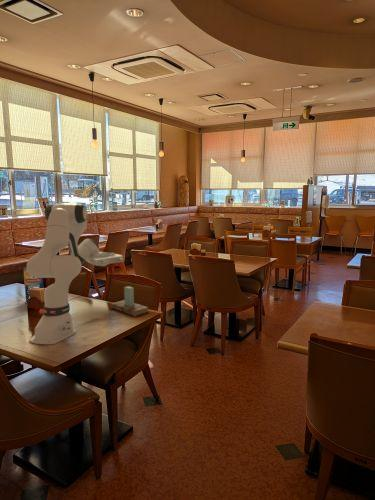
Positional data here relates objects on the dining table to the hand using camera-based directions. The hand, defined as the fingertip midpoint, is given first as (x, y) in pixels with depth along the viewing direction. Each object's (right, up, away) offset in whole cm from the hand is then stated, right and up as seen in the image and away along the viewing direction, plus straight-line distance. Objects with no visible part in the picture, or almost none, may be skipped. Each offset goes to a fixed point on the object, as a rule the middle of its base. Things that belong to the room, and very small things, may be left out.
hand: (115, 261), depth 219 cm
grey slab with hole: (+9, -29, -4) cm, 30 cm away
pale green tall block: (+9, -29, -4) cm, 30 cm away
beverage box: (-55, -26, +16) cm, 63 cm away
